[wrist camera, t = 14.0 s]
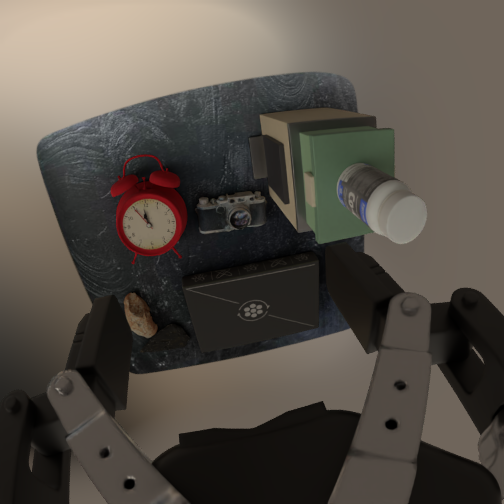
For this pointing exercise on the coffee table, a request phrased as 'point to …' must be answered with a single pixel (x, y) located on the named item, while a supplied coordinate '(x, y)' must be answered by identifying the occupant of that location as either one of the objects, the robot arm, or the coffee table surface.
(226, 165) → the coffee table surface
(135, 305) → the tan elongated rock
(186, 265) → the coffee table surface
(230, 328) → the book
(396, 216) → the pill bottle
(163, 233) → the alarm clock
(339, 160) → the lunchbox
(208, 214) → the camera
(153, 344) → the arrowhead
